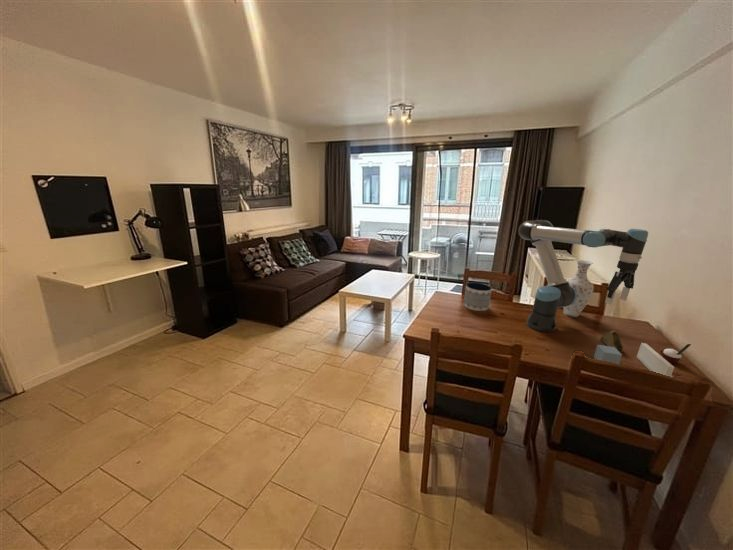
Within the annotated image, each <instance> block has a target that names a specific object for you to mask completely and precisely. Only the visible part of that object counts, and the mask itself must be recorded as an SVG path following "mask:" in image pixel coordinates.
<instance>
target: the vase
mask: <svg viewBox="0 0 733 550" xmlns="http://www.w3.org/2000/svg"><path fill="white" fill-rule="evenodd" d="M575 262H576V263H577V271H576V273H575V274H574V275H573V276H571V277H569V278H566V279H565V280H566V281H568V282H569V285H570V286H571V287H572V288H574V289H575V290H576V292H577V299H576V301H575V302H574V303H573V304H571V305H569V306H565V307H562V308H563V314H565V315H566V316H569V317H574V318H576V317H577V318H578V317H580V314H581V312H583V310H584V308H586V306H587V304H588V303H589V301H591V298H592V295H593V293H594V287H595V286H594V283H593V282H592V281H590V280H589V279H588V274H587V273H588V271H589V269H590V266H591V265H593V264H594V262H592V261H589V260H583V259H577V260H576V259H575Z"/></svg>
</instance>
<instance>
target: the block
mask: <svg viewBox="0 0 733 550" xmlns="http://www.w3.org/2000/svg"><path fill="white" fill-rule="evenodd" d="M622 356H623V354H622V352H620V351H618V350H617V349H616V348H615V347H610V346H607V345H604V344H603V345H602V344H597V345H596V347H595V352H594V356H593V358H594V360H596V359H597V360H602V361H607V362H612V363H616V364H619V365H620V363H621V359H622Z"/></svg>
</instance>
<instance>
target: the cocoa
mask: <svg viewBox="0 0 733 550" xmlns="http://www.w3.org/2000/svg"><path fill="white" fill-rule="evenodd" d="M691 345H692V344H691V343H687V344H686V345H685V346H684V347H682V348H681V349H680V350H679V351H677V350H676V349H673V348H665V349H664V350H660V356H662V357H663V358H664V359H665V360H666V361H668V362H669V363H670V364H677V363H678V362H680V360H681V359H682V357H683V356H682V354H683V352H685V351H686V350H687V349H688V348H690V346H691Z"/></svg>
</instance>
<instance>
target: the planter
mask: <svg viewBox="0 0 733 550" xmlns="http://www.w3.org/2000/svg"><path fill="white" fill-rule="evenodd" d="M492 289H493V288H492V287H491V286H490V285H489V284H486V283H481V282H469V283H466V285H465V291H464V299H463V307H464V308H467V309H469V310H471V311H475V312H484V311H487V310H489V308H490V304H491V303H490V301H491V297H492V296H491V295H492Z"/></svg>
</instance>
